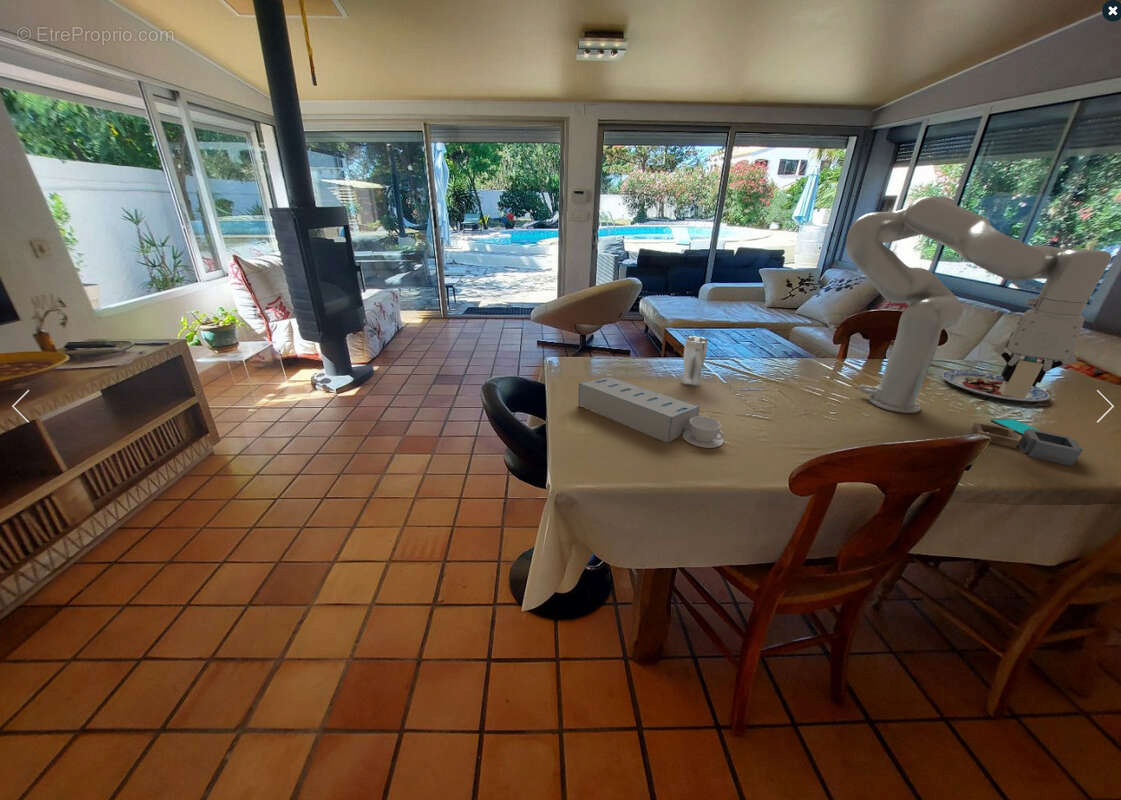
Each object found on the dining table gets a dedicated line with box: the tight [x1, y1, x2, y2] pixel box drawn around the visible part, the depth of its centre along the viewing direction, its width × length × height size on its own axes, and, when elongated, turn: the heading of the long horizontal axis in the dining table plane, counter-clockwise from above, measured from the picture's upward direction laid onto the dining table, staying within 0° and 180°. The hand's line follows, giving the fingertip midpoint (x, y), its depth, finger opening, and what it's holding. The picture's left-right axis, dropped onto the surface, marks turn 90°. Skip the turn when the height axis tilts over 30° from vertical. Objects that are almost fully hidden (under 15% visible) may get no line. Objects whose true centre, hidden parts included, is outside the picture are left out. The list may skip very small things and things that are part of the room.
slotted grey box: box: [577, 376, 700, 444], centre depth 117 cm, size 30×14×8 cm, turn 46°
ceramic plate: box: [941, 369, 1051, 402], centre depth 138 cm, size 26×26×3 cm
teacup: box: [681, 415, 725, 449], centre depth 105 cm, size 10×10×5 cm
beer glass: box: [680, 336, 709, 387], centre depth 137 cm, size 7×7×15 cm
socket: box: [1018, 428, 1084, 467], centre depth 101 cm, size 8×8×4 cm
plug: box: [999, 356, 1044, 399], centre depth 102 cm, size 4×4×11 cm
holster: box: [971, 420, 1020, 449], centre depth 108 cm, size 8×8×2 cm
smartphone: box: [989, 418, 1042, 437], centre depth 111 cm, size 7×1×15 cm
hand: (1018, 381), depth 103 cm, fingers closed on plug, 4 cm apart
